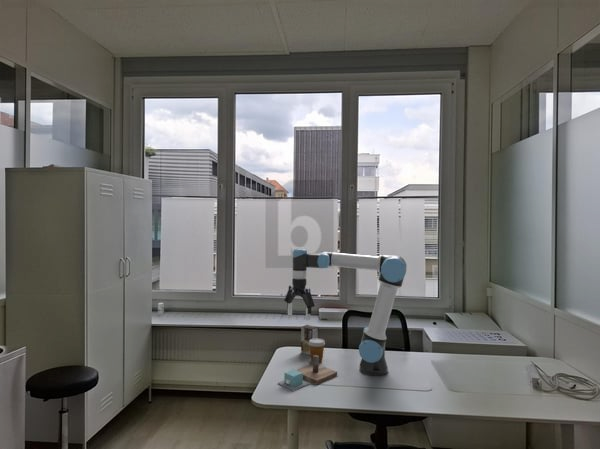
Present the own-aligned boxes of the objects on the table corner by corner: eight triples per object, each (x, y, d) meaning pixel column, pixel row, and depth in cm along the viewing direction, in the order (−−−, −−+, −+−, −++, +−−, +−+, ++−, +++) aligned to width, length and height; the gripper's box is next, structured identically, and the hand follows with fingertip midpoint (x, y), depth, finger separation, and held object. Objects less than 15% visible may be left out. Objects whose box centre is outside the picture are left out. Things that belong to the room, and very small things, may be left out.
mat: (309, 384, 194) (309, 383, 194) (293, 391, 186) (293, 389, 186) (293, 377, 202) (293, 376, 202) (277, 383, 194) (277, 382, 194)
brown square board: (337, 375, 205) (337, 356, 205) (316, 384, 194) (316, 364, 194) (314, 366, 217) (314, 348, 216) (293, 374, 205) (294, 355, 205)
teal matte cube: (302, 382, 194) (302, 372, 194) (291, 387, 189) (292, 377, 189) (293, 379, 199) (293, 369, 198) (282, 383, 193) (282, 373, 193)
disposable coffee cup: (325, 358, 229) (325, 338, 229) (324, 364, 220) (324, 343, 220) (308, 358, 230) (309, 337, 230) (307, 364, 221) (307, 342, 221)
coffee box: (318, 353, 238) (319, 327, 238) (312, 356, 233) (312, 329, 233) (307, 350, 244) (307, 324, 244) (300, 352, 239) (300, 326, 239)
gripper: (321, 280, 204) (321, 320, 205) (288, 274, 222) (287, 312, 222) (311, 281, 199) (311, 323, 199) (278, 276, 216) (277, 314, 217)
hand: (298, 317), depth 211 cm, fingers open, 13 cm apart
